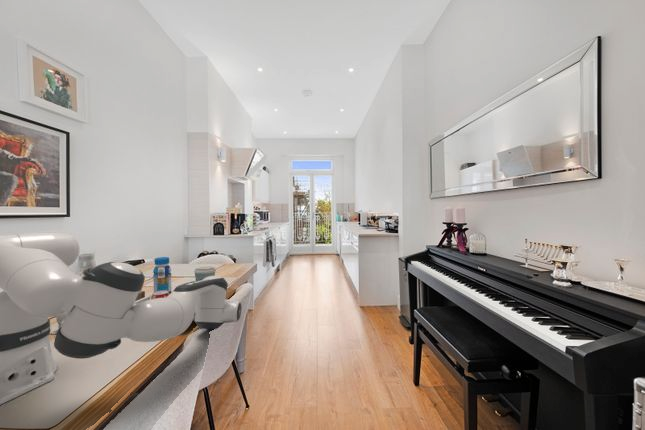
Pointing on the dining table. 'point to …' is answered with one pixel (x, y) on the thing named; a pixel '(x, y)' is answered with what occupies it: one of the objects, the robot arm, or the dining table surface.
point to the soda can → (160, 294)
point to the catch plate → (142, 300)
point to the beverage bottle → (162, 274)
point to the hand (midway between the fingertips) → (169, 309)
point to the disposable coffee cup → (204, 272)
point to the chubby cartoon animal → (61, 319)
